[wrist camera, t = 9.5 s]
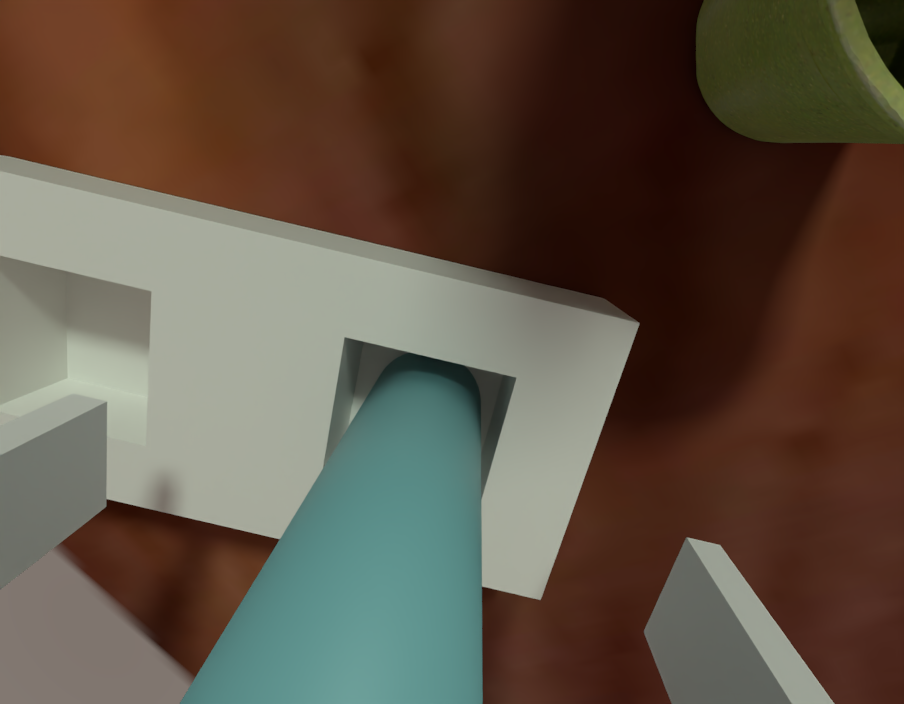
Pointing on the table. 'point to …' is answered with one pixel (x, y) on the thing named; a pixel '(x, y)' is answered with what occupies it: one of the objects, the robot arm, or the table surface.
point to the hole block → (287, 355)
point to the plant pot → (804, 69)
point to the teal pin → (373, 563)
